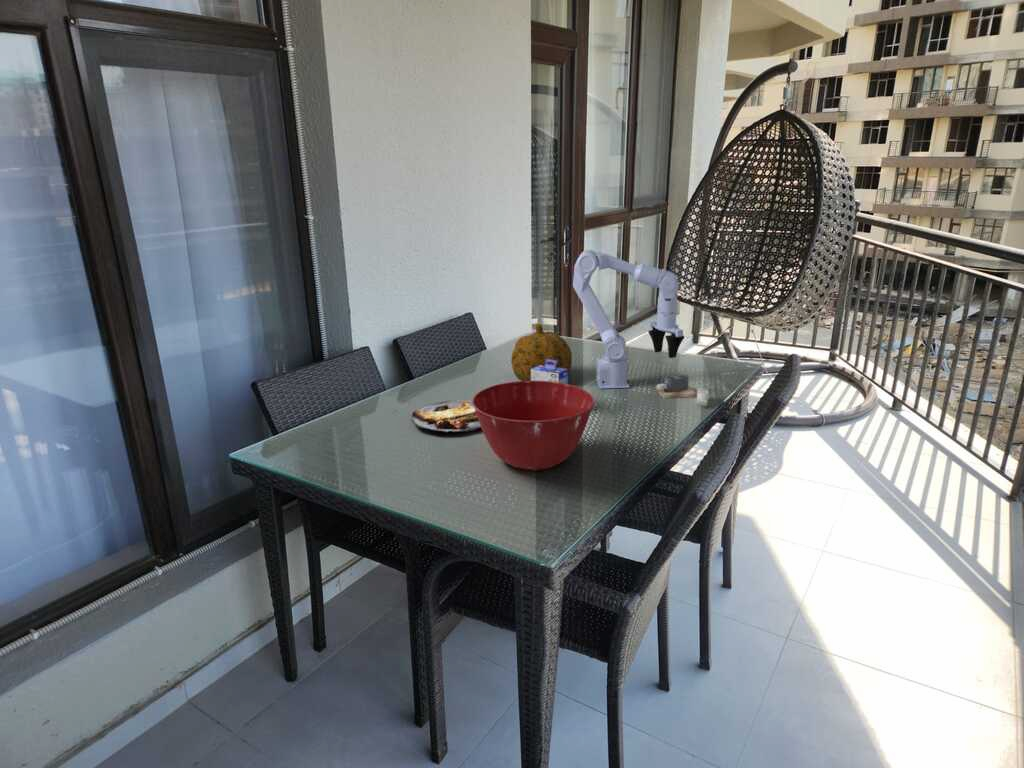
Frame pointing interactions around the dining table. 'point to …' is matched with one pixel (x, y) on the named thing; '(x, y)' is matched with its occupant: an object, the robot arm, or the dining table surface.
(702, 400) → the offwhite plug
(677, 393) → the cork pad
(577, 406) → the mixing bowl
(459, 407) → the food plate
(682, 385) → the charcoal plug
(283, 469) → the dining table surface
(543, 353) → the decorative pumpkin
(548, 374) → the ink cartridge box
